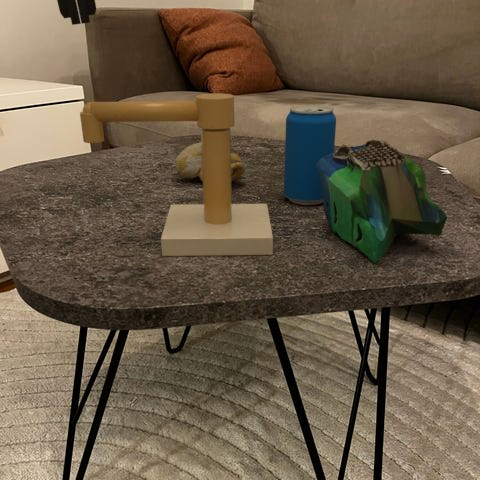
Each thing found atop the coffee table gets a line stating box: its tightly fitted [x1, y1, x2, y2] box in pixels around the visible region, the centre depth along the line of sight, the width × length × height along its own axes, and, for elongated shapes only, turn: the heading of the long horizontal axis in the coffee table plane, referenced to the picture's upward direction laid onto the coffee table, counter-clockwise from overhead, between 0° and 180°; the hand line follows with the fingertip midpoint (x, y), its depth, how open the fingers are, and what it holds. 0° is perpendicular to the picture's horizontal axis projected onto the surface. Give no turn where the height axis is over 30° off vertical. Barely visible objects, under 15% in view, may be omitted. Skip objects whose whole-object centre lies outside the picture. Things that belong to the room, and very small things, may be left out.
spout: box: [79, 92, 235, 144], centre depth 63 cm, size 16×4×4 cm, turn 91°
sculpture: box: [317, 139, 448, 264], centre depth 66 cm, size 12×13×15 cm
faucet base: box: [160, 128, 274, 257], centre depth 66 cm, size 12×12×12 cm
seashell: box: [174, 141, 247, 183], centre depth 90 cm, size 10×6×15 cm
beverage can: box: [283, 104, 337, 206], centre depth 79 cm, size 6×6×12 cm
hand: (79, 16), depth 48 cm, fingers closed
